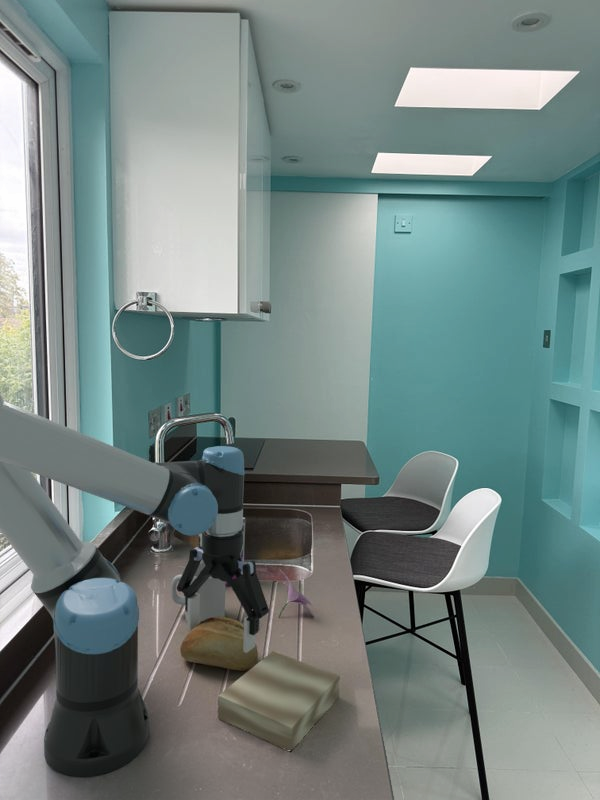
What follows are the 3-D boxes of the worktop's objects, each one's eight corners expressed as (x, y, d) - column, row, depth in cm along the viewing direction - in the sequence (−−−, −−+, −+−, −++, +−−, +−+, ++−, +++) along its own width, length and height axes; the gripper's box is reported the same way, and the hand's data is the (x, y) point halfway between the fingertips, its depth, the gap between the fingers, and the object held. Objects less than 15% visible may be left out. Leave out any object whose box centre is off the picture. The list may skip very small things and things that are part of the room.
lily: (310, 636, 123) (329, 593, 125) (260, 613, 123) (279, 570, 125) (305, 626, 135) (321, 586, 137) (259, 604, 135) (276, 565, 137)
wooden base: (290, 752, 87) (291, 727, 87) (217, 718, 94) (218, 695, 94) (338, 697, 101) (339, 675, 101) (272, 671, 108) (272, 651, 108)
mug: (228, 610, 131) (229, 563, 130) (219, 629, 123) (220, 579, 122) (177, 605, 132) (177, 559, 131) (164, 624, 124) (165, 575, 123)
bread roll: (189, 645, 116) (189, 607, 115) (262, 652, 114) (263, 614, 113) (173, 672, 107) (173, 631, 106) (252, 681, 105) (253, 639, 104)
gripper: (289, 538, 105) (286, 649, 107) (185, 512, 117) (184, 612, 120) (266, 550, 98) (263, 668, 101) (158, 522, 111) (158, 627, 113)
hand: (220, 638), depth 110 cm, fingers closed on bread roll, 13 cm apart
